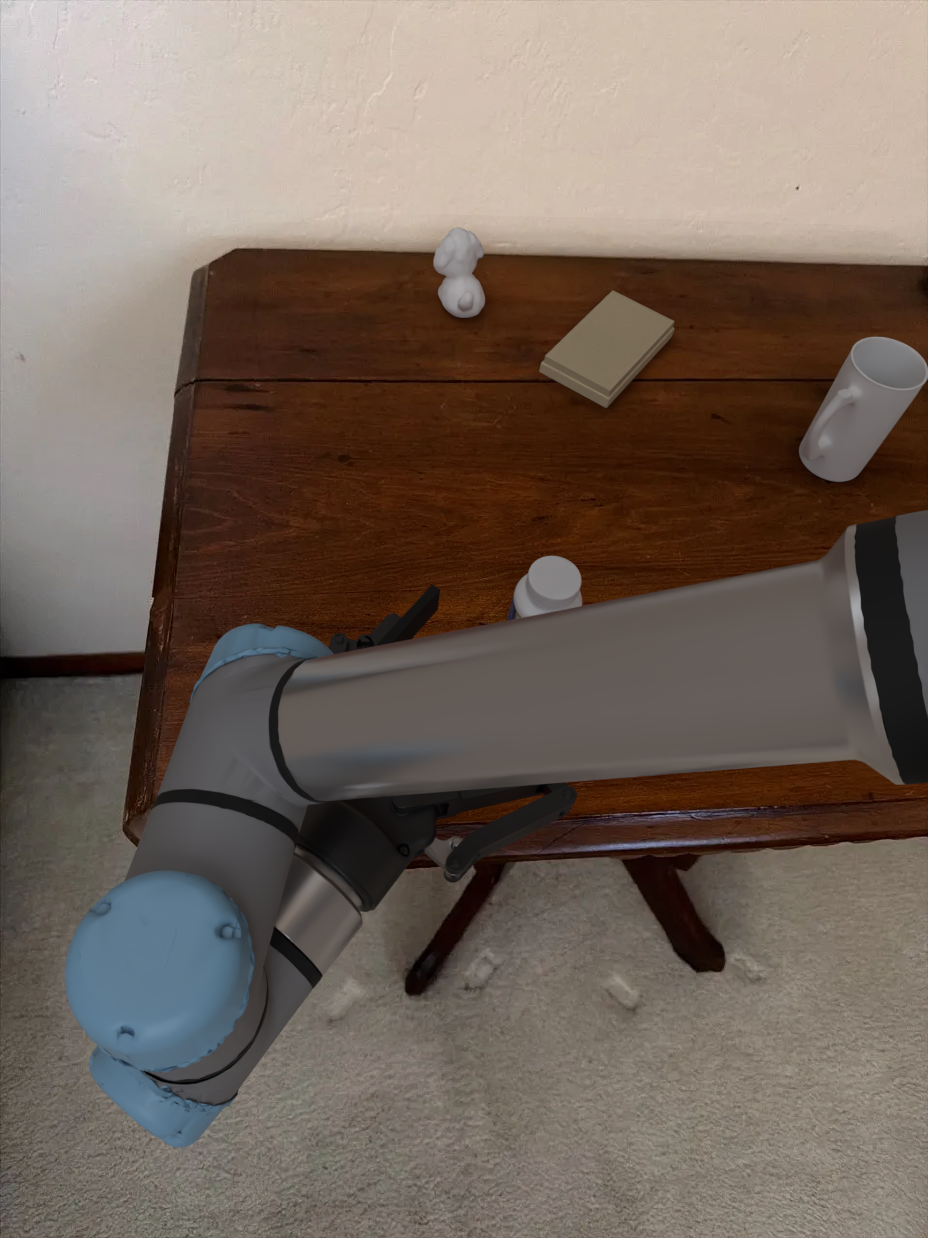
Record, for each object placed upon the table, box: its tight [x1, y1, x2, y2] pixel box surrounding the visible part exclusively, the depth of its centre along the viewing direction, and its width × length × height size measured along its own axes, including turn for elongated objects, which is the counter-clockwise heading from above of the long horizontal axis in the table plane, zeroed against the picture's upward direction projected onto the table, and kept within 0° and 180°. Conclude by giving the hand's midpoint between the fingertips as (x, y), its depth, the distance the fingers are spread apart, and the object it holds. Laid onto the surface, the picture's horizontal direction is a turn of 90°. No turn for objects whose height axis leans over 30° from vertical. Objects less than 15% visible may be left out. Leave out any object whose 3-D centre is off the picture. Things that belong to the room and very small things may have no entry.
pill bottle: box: [506, 555, 583, 621], centre depth 68 cm, size 5×5×9 cm
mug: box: [798, 336, 928, 483], centre depth 80 cm, size 10×7×12 cm, turn 124°
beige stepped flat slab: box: [538, 290, 675, 409], centre depth 91 cm, size 8×14×2 cm, turn 145°
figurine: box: [432, 226, 486, 319], centre depth 90 cm, size 5×8×8 cm
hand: (510, 644), depth 64 cm, fingers open, 13 cm apart
